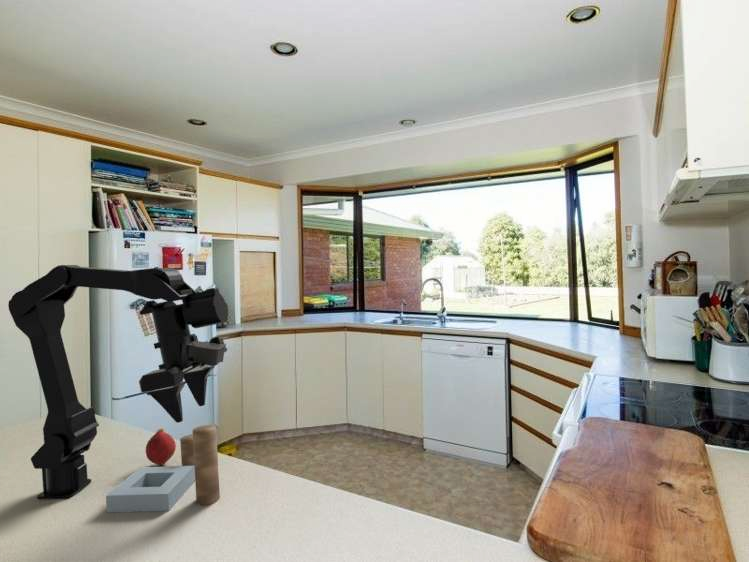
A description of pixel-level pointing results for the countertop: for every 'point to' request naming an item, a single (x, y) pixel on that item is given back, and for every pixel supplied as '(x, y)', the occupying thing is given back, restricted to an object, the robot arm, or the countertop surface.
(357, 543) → the countertop surface
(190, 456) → the walnut peg short
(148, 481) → the collar block
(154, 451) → the onion
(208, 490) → the walnut peg long
